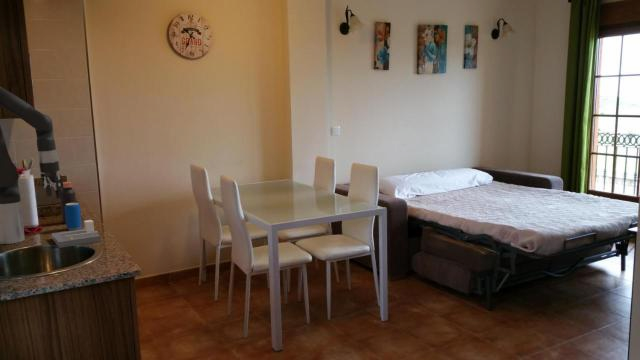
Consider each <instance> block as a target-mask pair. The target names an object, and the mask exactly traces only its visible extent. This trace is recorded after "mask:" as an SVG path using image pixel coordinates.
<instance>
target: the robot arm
mask: <svg viewBox="0 0 640 360" xmlns="http://www.w3.org/2000/svg"><path fill="white" fill-rule="evenodd" d="M0 107H1V108H3V109H4V110H6V111H7V112H9V113H10V114H12V115H13V116H15V117H17V118H18V119H20V120H23V121H24V122H25V123H26V124H28V125H29V126H31V127H32V128H33V129H35V136H36V148H37V157H38V158H37V159H38V165H39V172H40V174H39V175H40V181H41V187H43V188H44V190H45V195H46V198H47V197H52V196H53V192H52V191H53V190H52V187H53V189H54V190H55V191H54V194H55V198H56V199H57V200H58V199H59V200H60V198H62V194H61V191H62V188H64V187H63V182H64V181H63V178H62V177H63V176H62V174H58V173H57V172H60V162H59V156H58V152H57V151H58V150H57V148H56V147H57V146H56V141H55V137H54V126H53V120H52V118H51V117H50V116H49V115H47V114H44V113H42V112H40V111H39V110H37V109H35V107H33V105H31V104H30V103H28V102H27V101H25V100H23V99H21V98H20V97H18V96H16V94H13V93H12V92H10V91H9V90H7V89H5V88H3V87H2V86H0ZM19 174H20V173H19V171H18V169H17V168H16V166H15V165H14V162H13V160H12V158H11V156H10V154H9V151H8V147H7V144H6V140H5V136H4V133H3V129H2V127H1V125H0V245H8V244H9V245H10V244H18V243H22V242H23V241H25V231H24V228H25V227H24V221H23V211H22V210H23V209H22V200H21V193H20V189H19V188H20V187H19V178H20V175H19Z"/></svg>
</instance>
